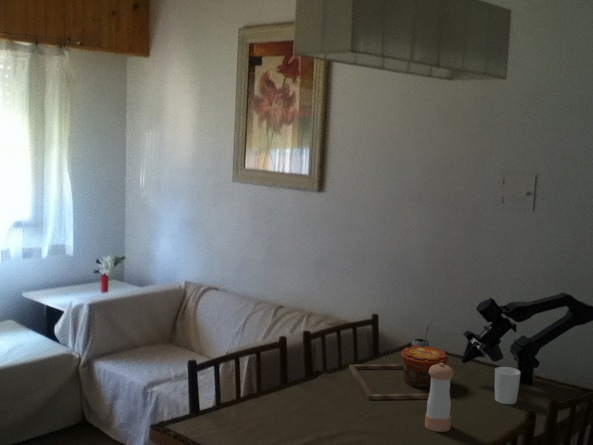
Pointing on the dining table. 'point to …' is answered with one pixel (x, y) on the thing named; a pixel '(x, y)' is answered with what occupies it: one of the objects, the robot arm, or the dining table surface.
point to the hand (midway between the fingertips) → (462, 362)
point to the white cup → (506, 385)
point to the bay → (382, 396)
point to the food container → (421, 364)
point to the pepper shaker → (439, 399)
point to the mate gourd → (421, 340)
